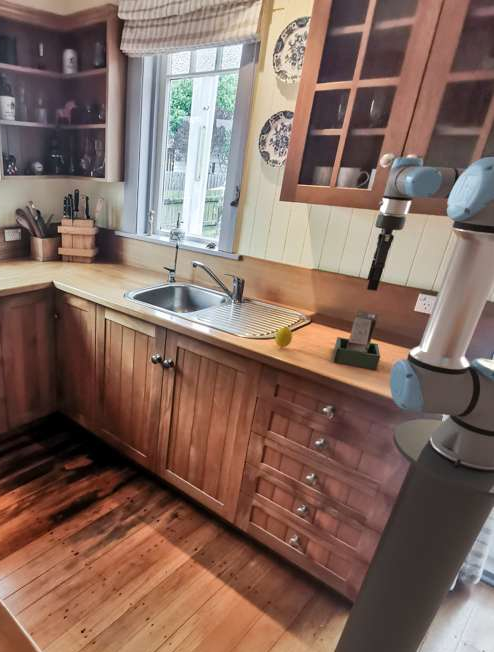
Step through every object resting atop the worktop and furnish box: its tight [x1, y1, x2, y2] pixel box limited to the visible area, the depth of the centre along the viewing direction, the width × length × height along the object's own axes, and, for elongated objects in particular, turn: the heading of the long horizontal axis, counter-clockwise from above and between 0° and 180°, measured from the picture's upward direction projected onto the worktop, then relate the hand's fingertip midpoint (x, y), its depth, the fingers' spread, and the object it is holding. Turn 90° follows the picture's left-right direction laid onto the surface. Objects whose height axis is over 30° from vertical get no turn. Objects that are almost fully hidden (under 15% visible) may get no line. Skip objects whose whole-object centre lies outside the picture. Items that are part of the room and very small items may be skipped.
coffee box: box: [346, 310, 379, 353], centre depth 156 cm, size 9×6×16 cm
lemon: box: [274, 326, 293, 349], centre depth 164 cm, size 6×6×8 cm
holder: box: [333, 336, 381, 371], centre depth 159 cm, size 12×13×5 cm
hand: (371, 285), depth 147 cm, fingers open, 13 cm apart
